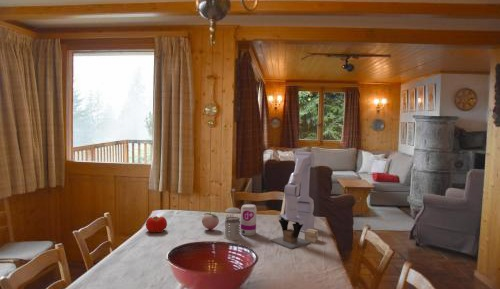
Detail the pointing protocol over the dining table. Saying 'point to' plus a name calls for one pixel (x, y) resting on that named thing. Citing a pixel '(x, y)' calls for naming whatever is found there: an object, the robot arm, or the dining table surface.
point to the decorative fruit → (210, 221)
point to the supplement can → (248, 219)
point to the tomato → (156, 224)
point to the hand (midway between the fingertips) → (290, 235)
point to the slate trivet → (290, 245)
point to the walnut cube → (289, 236)
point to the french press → (232, 224)
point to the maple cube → (311, 235)
